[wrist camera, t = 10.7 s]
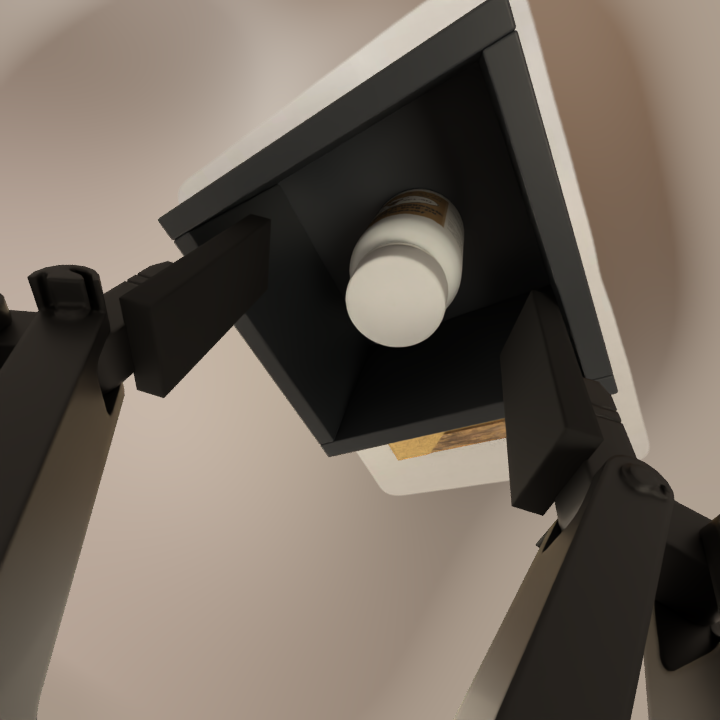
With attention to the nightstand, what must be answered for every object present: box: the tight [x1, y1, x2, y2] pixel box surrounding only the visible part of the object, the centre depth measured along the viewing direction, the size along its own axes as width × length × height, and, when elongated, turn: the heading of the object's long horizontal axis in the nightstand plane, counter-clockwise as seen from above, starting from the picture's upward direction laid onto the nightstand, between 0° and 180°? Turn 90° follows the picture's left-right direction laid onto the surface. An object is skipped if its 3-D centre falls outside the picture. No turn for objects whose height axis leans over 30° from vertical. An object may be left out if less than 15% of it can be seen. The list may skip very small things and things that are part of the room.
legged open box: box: [158, 0, 618, 457], centre depth 26 cm, size 12×12×31 cm
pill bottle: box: [346, 189, 464, 347], centre depth 17 cm, size 4×4×8 cm
